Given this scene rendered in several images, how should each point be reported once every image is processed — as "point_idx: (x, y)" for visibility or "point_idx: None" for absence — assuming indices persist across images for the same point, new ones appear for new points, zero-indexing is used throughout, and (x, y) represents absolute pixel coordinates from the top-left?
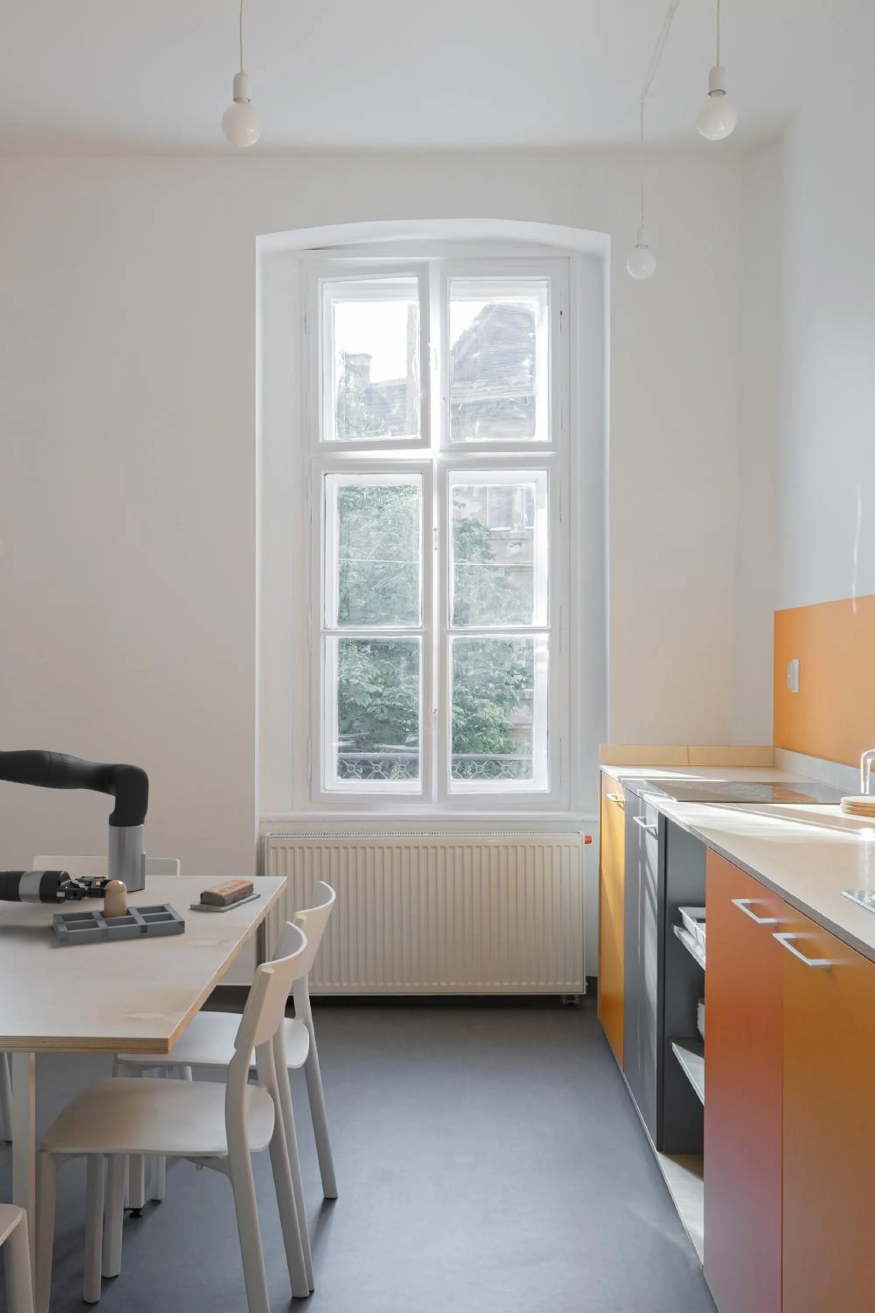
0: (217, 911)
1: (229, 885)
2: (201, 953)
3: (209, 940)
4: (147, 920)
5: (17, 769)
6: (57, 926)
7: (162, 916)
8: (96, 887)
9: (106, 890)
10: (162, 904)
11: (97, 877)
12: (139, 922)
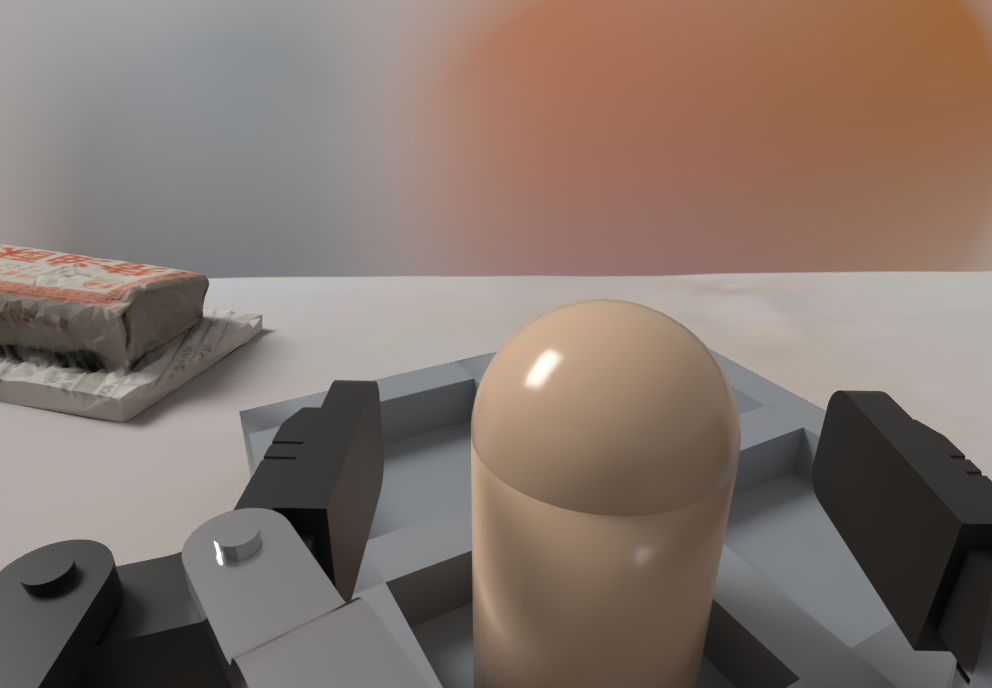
0: (243, 343)
1: (9, 262)
2: (881, 304)
3: (718, 310)
4: None
5: None
6: None
7: None
8: (903, 454)
9: (735, 446)
10: (262, 430)
11: (26, 673)
12: (777, 428)
